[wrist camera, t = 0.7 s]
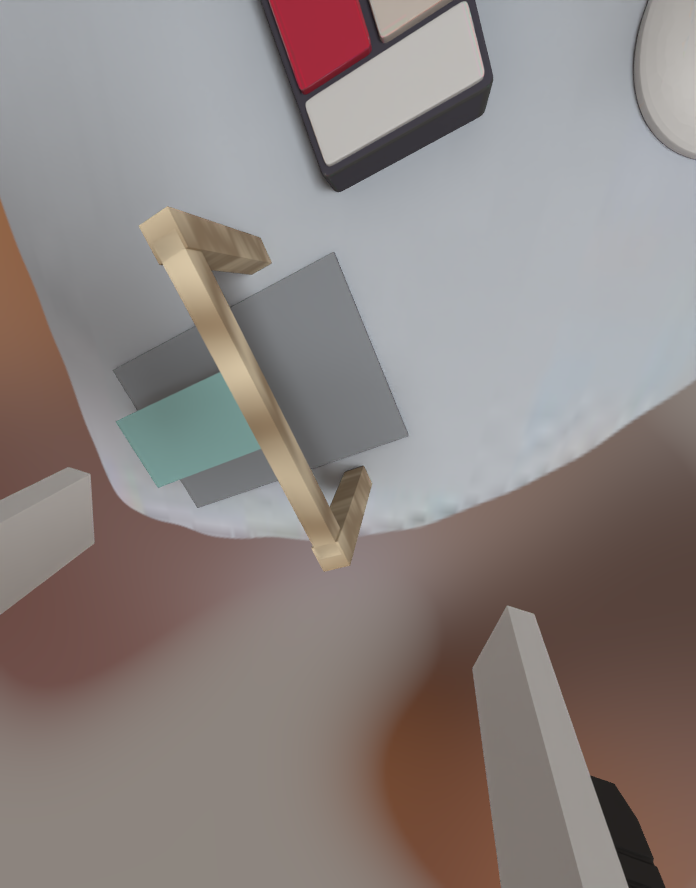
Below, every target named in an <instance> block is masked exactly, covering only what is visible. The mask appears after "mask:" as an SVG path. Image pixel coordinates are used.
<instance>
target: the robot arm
mask: <svg viewBox="0 0 696 888" xmlns="http://www.w3.org/2000/svg"><path fill="white" fill-rule="evenodd" d="M92 510H93V509H92V493H91V478H90V474H89V473H86V472H82V471H79V470H76V469H73V468H70V467H68V468H66V469H63V470H61V471H59V472H57V473H55V474H53V475H51V476H49V477H47V478H45V479H43V480H41V481H39V482H37V483H35V484H33V485H31V486H29V487H27V488H24V489H23V490H20V491H18V492H16V493H14V494H12V495H10V496H8V497H6V498H4V499H2V500H0V614H2V613H3V612H4V611H6V610H7V609H8V608H10V607H11V606H12V605H14V604H15V603H16V602H17V601H19V600H20V599H21V598H23V597H24V596H25V595H27V594H28V593H29V592H31V591H32V590H33V589H35V588H36V587H37V586H39V585H40V584H41V583H43V582H44V581H45V580H47V579H48V578H49V577H50V576H52V575H53V574H54V573H56V572H57V571H58V570H60V569H61V568H62V567H63V566H65V565H66V564H68V563H69V562H70V561H71V560H73V559H74V558H75V557H77V556H78V555H79V554H81V553H82V552H83V551H85V550H86V549H87V548H89V547H90V546H91V545H93V544H94V526H93V511H92ZM472 669H473V676H474V684H475V692H476V699H477V707H478V714H479V722H480V730H481V737H482V745H483V752H484V760H485V768H486V775H487V783H488V791H489V798H490V806H491V813H492V821H493V828H494V836H495V844H496V852H497V859H498V867H499V874H500V882H501V888H665V885H664V883H663V880H662V878H661V875H660V873H659V871H658V868H657V867H656V866H655V865H654V863H653V859H654V858H653V856H652V853H651V851H650V848H649V846H648V844H647V841H646V839H645V836H644V834H643V831H642V829H641V826H640V824H639V822H638V819H637V818H636V816H635V815H634V813H633V812H632V810H631V809H630V807H629V806H628V804H627V802H626V801H625V799H624V798H623V796H622V795H621V793H620V792H619V790H618V789H617V787H616V786H615V784H613V783H611V782H608V781H605V780H602V779H599V778H596V777H593V776H590V774H589V772H588V769H587V766H586V763H585V760H584V757H583V754H582V751H581V748H580V745H579V743H578V740H577V737H576V734H575V731H574V728H573V725H572V722H571V719H570V717H569V714H568V711H567V708H566V705H565V702H564V699H563V696H562V693H561V691H560V688H559V685H558V682H557V679H556V676H555V673H554V670H553V667H552V665H551V662H550V659H549V656H548V653H547V650H546V647H545V644H544V642H543V639H542V636H541V633H540V630H539V627H538V624H537V621H536V618H535V615H534V614H532V613H529V612H526V611H523V610H520V609H517V608H513V607H510V606H507V607H506V609H505V610H504V612H503V614H502V616H501V618H500V619H499V621H498V623H497V625H496V627H495V628H494V630H493V632H492V634H491V636H490V637H489V639H488V641H487V643H486V645H485V647H484V648H483V650H482V652H481V654H480V656H479V657H478V659H477V661H476V663H475V665H474V667H473V668H472Z"/></svg>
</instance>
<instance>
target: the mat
mask: <svg viewBox="0 0 696 888" xmlns="http://www.w3.org/2000/svg"><path fill="white" fill-rule="evenodd" d="M230 309H231V311H232V313H233V315H234V317H235V319H236V321H237V323H238V325H239V327H240V329H241V331H242V333H243V335H244V337H245V339H246V341H247V343H248V345H249V347H250V349H251V351H252V353H253V355H254V357H255V359H256V361H257V363H258V365H259V367H260V369H261V371H262V373H263V375H264V377H265V379H266V381H267V383H268V385H269V387H270V389H271V391H272V393H273V395H274V397H275V399H276V401H277V403H278V405H279V407H280V409H281V411H282V413H283V415H284V417H285V419H286V421H287V423H288V425H289V427H290V429H291V431H292V433H293V435H294V437H295V439H296V441H297V443H298V445H299V447H300V449H301V451H302V453H303V455H304V457H305V459H306V461H307V463H308V465H309V467H310V469H313V468H316V467H319V466H322V465H325V464H328V463H331V462H334V461H337V460H340V459H343V458H346V457H349V456H352V455H355V454H357V453H360V452H363V451H366V450H369V449H372V448H375V447H378V446H381V445H384V444H387V443H390V442H393V441H396V440H399V439H401V438H404V437H407V436H408V432H407V430H406V428H405V425H404V423H403V420H402V418H401V415H400V413H399V410H398V408H397V405H396V403H395V400H394V398H393V395H392V393H391V391H390V388H389V386H388V383H387V381H386V378H385V376H384V373H383V371H382V368H381V366H380V363H379V361H378V359H377V356H376V354H375V351H374V349H373V346H372V344H371V341H370V339H369V336H368V334H367V331H366V329H365V326H364V324H363V322H362V319H361V317H360V314H359V312H358V309H357V307H356V304H355V302H354V299H353V297H352V294H351V292H350V290H349V287H348V285H347V282H346V280H345V277H344V275H343V272H342V270H341V267H340V265H339V262H338V260H337V257H336V255H335V253H334V252H333V253H331V254H329V255H327V256H325V257H324V258H322V259H320V260H318V261H316V262H314V263H312V264H310V265H309V266H307V267H305V268H303V269H301V270H299V271H297V272H296V273H294V274H292V275H290V276H288V277H286V278H284V279H282V280H281V281H279V282H277V283H275V284H273V285H271V286H269V287H268V288H266V289H264V290H262V291H260V292H258V293H256V294H254V295H253V296H251V297H249V298H247V299H245V300H243V301H241V302H239V303H238V304H236V305H234V306H232V307H230ZM113 372H114V373H115V375H116V377H117V378H118V380H119V381H120V383H121V385H122V386H123V388H124V390H125V391H126V393H127V394H128V396H129V398H130V399H131V401H132V403H133V404H134V406H135V407H136V409H137V411H139V410H141V409H143V408H145V407H147V406H149V405H151V404H154V403H156V402H158V401H160V400H162V399H164V398H166V397H168V396H170V395H173V394H175V393H177V392H179V391H181V390H183V389H185V388H187V387H189V386H192V385H194V384H196V383H198V382H200V381H202V380H204V379H206V378H208V377H211V376H213V375H215V374H217V373H219V372H220V370H219V369H218V367H217V365H216V363H215V361H214V359H213V357H212V355H211V354H210V352H209V350H208V348H207V346H206V344H205V342H204V340H203V339H202V337H201V335H200V333H199V331H198V329H197V327H196V326H195V327H193V328H191V329H189V330H187V331H185V332H183V333H182V334H180V335H178V336H176V337H174V338H172V339H170V340H168V341H167V342H165V343H163V344H161V345H159V346H157V347H155V348H154V349H152V350H150V351H148V352H146V353H144V354H142V355H140V356H139V357H137V358H135V359H133V360H131V361H129V362H127V363H125V364H124V365H122V366H120V367H118V368H116V369H114V370H113ZM180 480H181V482H182V484H183V485H184V487H185V488H186V490H187V492H188V493H189V495H190V497H191V498H192V500H193V501H194V503H195V505H196V506H197V508H199V507H202V506H205V505H208V504H211V503H214V502H217V501H220V500H223V499H225V498H228V497H231V496H234V495H237V494H240V493H243V492H246V491H249V490H252V489H255V488H258V487H261V486H264V485H267V484H269V483H272V482H275V481H278V479H277V477H276V475H275V474H274V472H273V470H272V468H271V466H270V464H269V462H268V460H267V459H266V457H265V455H264V453H263V451H262V449H259V450H257V451H254V452H251V453H249V454H246V455H243V456H241V457H238V458H236V459H233V460H230V461H228V462H225V463H222V464H220V465H217V466H214V467H212V468H209V469H206V470H204V471H201V472H199V473H196V474H193V475H191V476H188V477H185V478H183V479H180Z"/></svg>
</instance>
